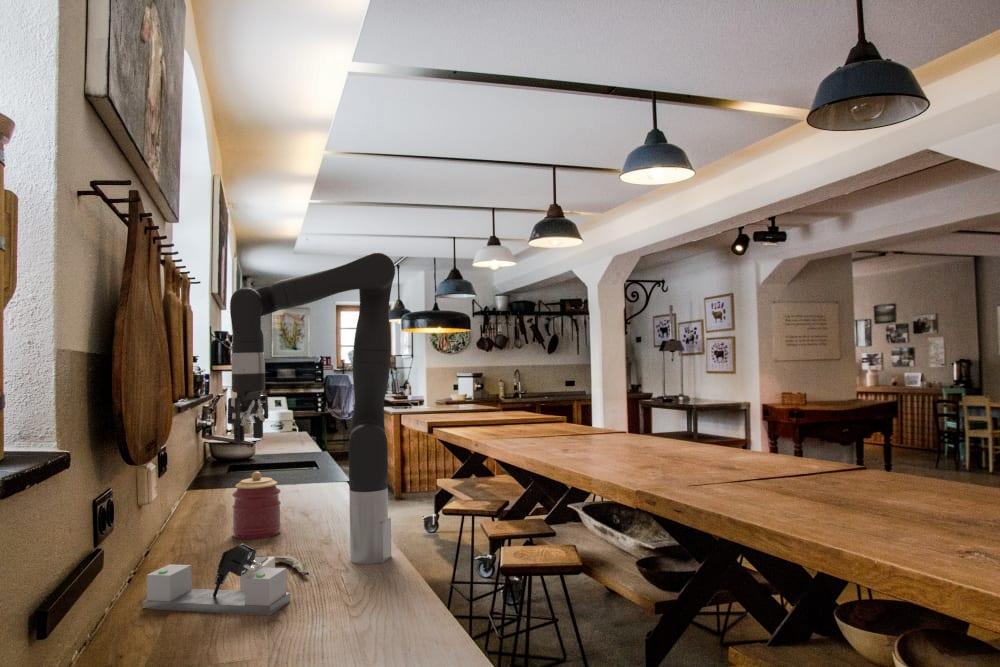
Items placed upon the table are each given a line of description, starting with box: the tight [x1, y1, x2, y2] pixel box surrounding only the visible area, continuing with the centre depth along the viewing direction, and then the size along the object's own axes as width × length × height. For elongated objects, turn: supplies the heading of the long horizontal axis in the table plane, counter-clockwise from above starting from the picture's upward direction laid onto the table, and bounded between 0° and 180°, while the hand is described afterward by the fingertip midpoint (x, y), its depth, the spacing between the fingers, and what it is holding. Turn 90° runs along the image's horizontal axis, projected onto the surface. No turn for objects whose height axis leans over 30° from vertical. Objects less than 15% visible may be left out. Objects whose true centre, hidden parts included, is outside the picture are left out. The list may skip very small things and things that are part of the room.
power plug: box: [213, 542, 262, 597], centre depth 138 cm, size 6×8×12 cm
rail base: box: [142, 588, 291, 617], centre depth 138 cm, size 27×8×2 cm, turn 80°
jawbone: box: [255, 554, 310, 577], centre depth 163 cm, size 9×20×2 cm, turn 55°
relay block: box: [239, 556, 276, 591], centre depth 149 cm, size 5×7×6 cm
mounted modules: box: [146, 563, 287, 606], centre depth 138 cm, size 26×7×5 cm, turn 80°
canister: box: [232, 471, 282, 540], centre depth 197 cm, size 13×13×18 cm
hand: (249, 439), depth 166 cm, fingers open, 8 cm apart
